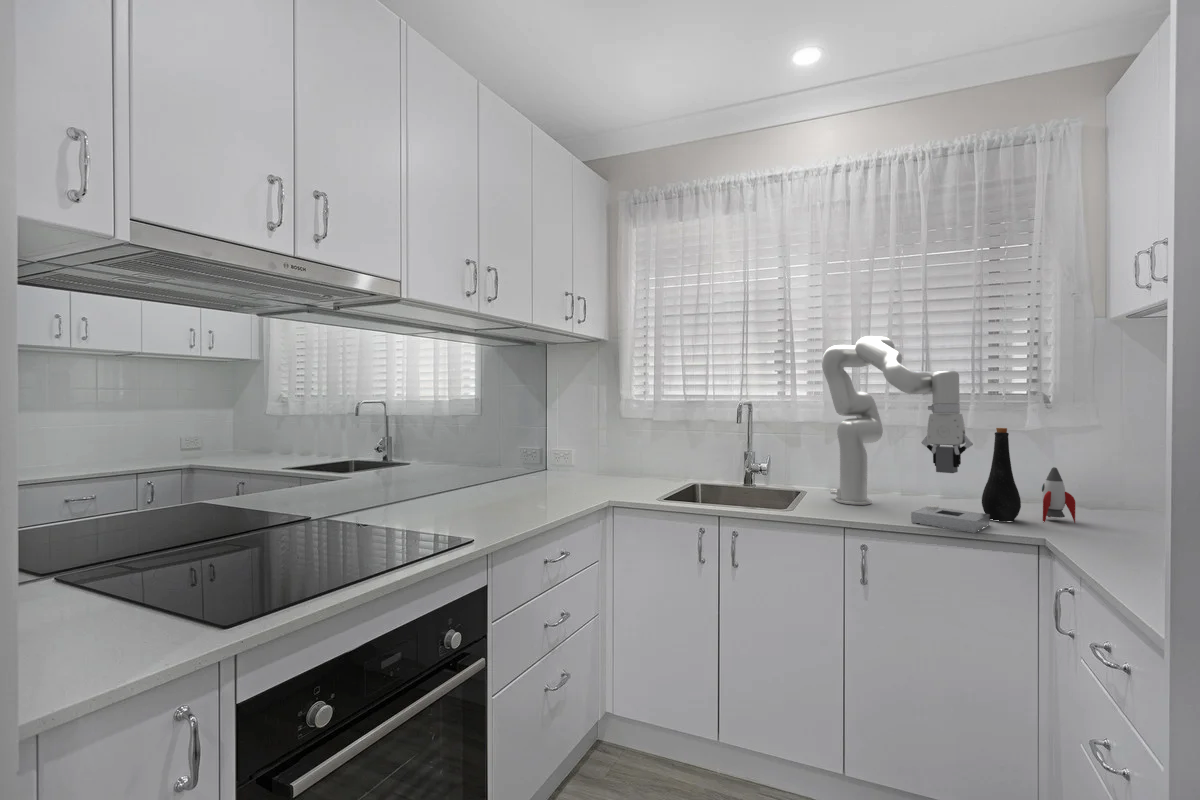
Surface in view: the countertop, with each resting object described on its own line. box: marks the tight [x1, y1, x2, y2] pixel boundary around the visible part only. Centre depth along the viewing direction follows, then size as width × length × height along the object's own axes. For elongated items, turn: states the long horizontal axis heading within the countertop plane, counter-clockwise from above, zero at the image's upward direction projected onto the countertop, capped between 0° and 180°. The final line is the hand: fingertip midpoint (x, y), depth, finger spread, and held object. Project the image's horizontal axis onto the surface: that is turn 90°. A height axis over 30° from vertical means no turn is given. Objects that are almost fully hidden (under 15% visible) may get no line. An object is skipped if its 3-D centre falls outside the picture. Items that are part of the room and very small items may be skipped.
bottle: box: [981, 427, 1022, 522], centre depth 192 cm, size 11×11×30 cm
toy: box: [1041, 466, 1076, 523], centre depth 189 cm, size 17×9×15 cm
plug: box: [935, 445, 959, 474], centre depth 190 cm, size 5×7×8 cm, turn 133°
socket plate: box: [910, 504, 991, 534], centre depth 186 cm, size 18×14×4 cm
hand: (946, 465), depth 189 cm, fingers closed on plug, 4 cm apart
